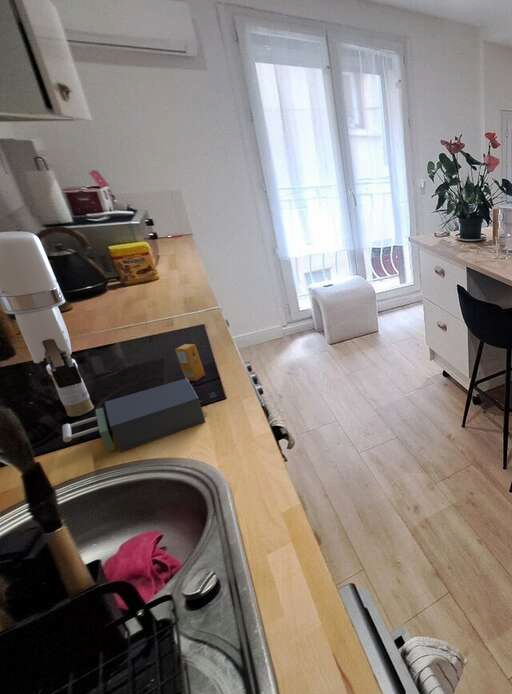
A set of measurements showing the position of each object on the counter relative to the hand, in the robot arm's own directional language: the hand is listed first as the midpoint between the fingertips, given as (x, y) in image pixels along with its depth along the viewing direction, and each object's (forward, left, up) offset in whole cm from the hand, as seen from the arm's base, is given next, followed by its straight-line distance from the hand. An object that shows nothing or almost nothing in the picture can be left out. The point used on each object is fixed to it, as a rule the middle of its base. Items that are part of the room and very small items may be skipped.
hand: (70, 383), depth 82 cm
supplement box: (+20, +19, -16) cm, 32 cm away
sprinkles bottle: (-2, +19, -16) cm, 25 cm away
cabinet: (+10, 0, -15) cm, 19 cm away
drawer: (+6, 0, -14) cm, 16 cm away
